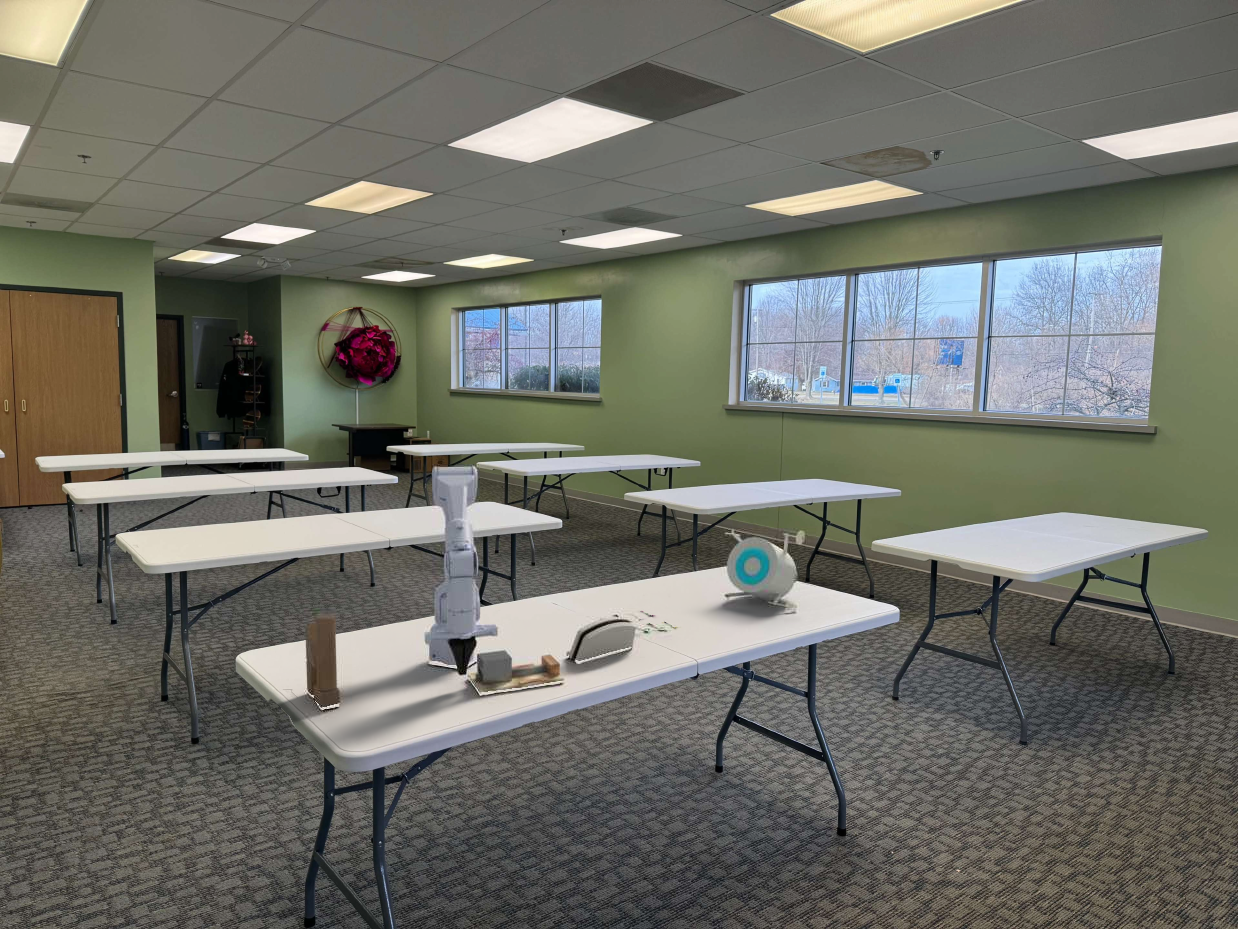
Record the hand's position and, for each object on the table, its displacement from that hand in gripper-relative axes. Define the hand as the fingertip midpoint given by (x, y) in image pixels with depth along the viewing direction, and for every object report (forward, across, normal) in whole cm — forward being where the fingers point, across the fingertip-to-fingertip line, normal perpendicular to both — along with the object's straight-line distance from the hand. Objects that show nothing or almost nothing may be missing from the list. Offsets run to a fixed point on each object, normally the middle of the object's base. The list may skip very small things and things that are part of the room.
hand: (461, 673), depth 163 cm
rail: (+3, +11, 0) cm, 12 cm away
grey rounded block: (+4, +35, +8) cm, 36 cm away
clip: (+2, +7, 0) cm, 7 cm away
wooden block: (+4, -26, +5) cm, 27 cm away
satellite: (+4, +95, +33) cm, 100 cm away
